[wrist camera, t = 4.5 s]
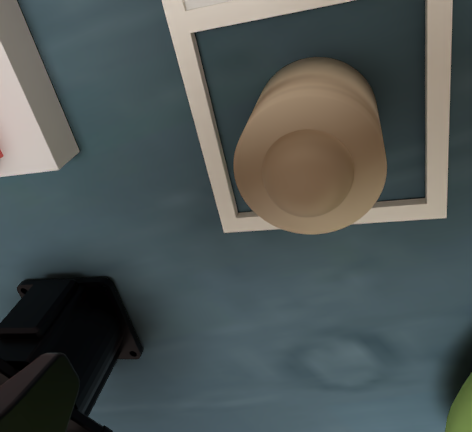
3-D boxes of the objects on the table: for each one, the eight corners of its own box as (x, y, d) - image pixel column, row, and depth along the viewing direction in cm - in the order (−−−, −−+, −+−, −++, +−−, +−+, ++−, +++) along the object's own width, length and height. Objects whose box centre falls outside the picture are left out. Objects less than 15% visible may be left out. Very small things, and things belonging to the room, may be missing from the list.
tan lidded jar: (380, 165, 20) (394, 256, 14) (267, 176, 21) (241, 263, 16) (373, 46, 17) (387, 103, 12) (246, 68, 19) (206, 128, 13)
